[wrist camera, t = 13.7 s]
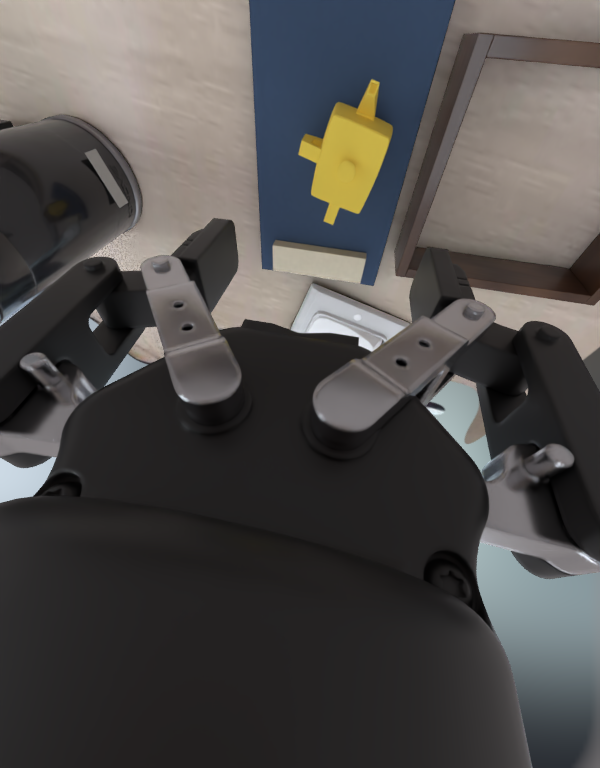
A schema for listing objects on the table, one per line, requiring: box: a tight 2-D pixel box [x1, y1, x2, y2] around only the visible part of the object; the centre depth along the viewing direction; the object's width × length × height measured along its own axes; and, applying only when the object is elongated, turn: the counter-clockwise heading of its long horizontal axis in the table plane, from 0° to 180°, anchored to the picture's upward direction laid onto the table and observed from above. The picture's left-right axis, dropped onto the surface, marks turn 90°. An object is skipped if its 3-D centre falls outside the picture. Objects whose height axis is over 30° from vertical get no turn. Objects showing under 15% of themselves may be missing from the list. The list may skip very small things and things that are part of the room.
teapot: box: [298, 79, 393, 225], centre depth 20 cm, size 8×6×5 cm
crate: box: [395, 33, 600, 305], centre depth 21 cm, size 17×14×4 cm
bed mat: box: [249, 0, 455, 286], centre depth 23 cm, size 12×20×2 cm, turn 177°
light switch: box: [290, 284, 410, 352], centre depth 36 cm, size 11×4×13 cm
